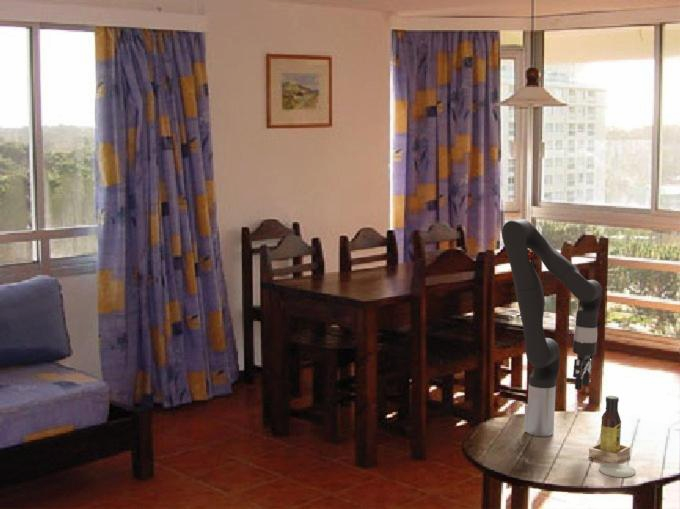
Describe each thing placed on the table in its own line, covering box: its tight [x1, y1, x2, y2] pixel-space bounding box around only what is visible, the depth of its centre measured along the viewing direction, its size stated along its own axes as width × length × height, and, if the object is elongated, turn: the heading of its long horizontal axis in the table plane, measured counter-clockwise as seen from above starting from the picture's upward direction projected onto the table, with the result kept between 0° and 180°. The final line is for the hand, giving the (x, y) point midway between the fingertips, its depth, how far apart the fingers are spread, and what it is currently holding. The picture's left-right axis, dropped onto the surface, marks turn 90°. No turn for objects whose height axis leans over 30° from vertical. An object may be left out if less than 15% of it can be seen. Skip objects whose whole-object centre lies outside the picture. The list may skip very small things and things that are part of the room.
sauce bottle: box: [599, 395, 622, 454], centre depth 343 cm, size 7×6×20 cm
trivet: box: [598, 462, 636, 478], centre depth 331 cm, size 11×11×1 cm
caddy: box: [588, 442, 631, 463], centre depth 344 cm, size 9×10×3 cm
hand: (581, 387), depth 354 cm, fingers open, 8 cm apart
